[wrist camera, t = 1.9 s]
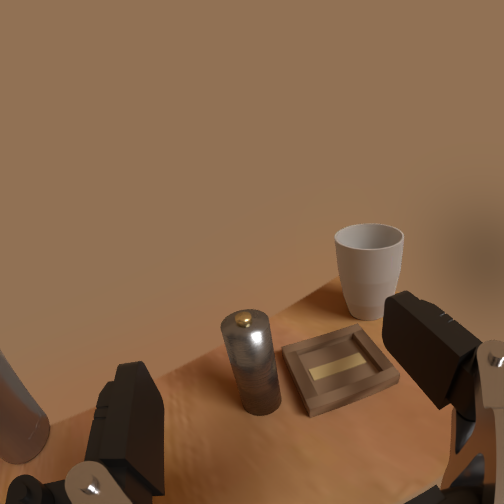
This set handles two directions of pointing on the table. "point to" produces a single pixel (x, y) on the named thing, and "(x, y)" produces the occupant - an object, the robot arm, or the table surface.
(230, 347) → the cell
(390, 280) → the cup
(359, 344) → the bay
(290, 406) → the table surface
